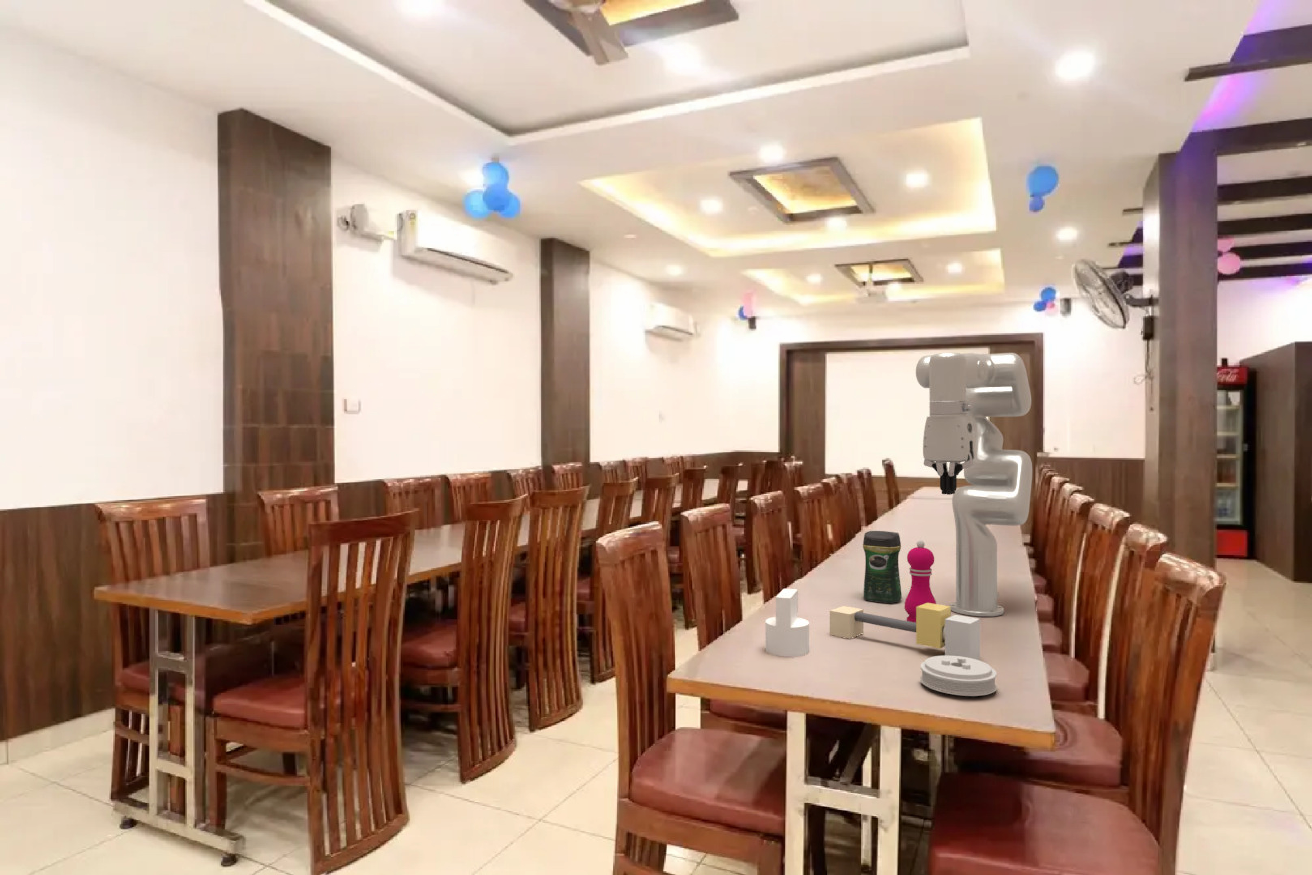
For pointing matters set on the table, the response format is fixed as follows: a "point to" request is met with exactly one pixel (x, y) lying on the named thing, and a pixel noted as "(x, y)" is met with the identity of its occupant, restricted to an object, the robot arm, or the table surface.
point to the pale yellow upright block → (931, 624)
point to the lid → (958, 675)
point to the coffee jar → (882, 566)
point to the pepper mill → (919, 579)
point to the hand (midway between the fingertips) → (948, 493)
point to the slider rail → (912, 629)
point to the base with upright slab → (787, 627)
